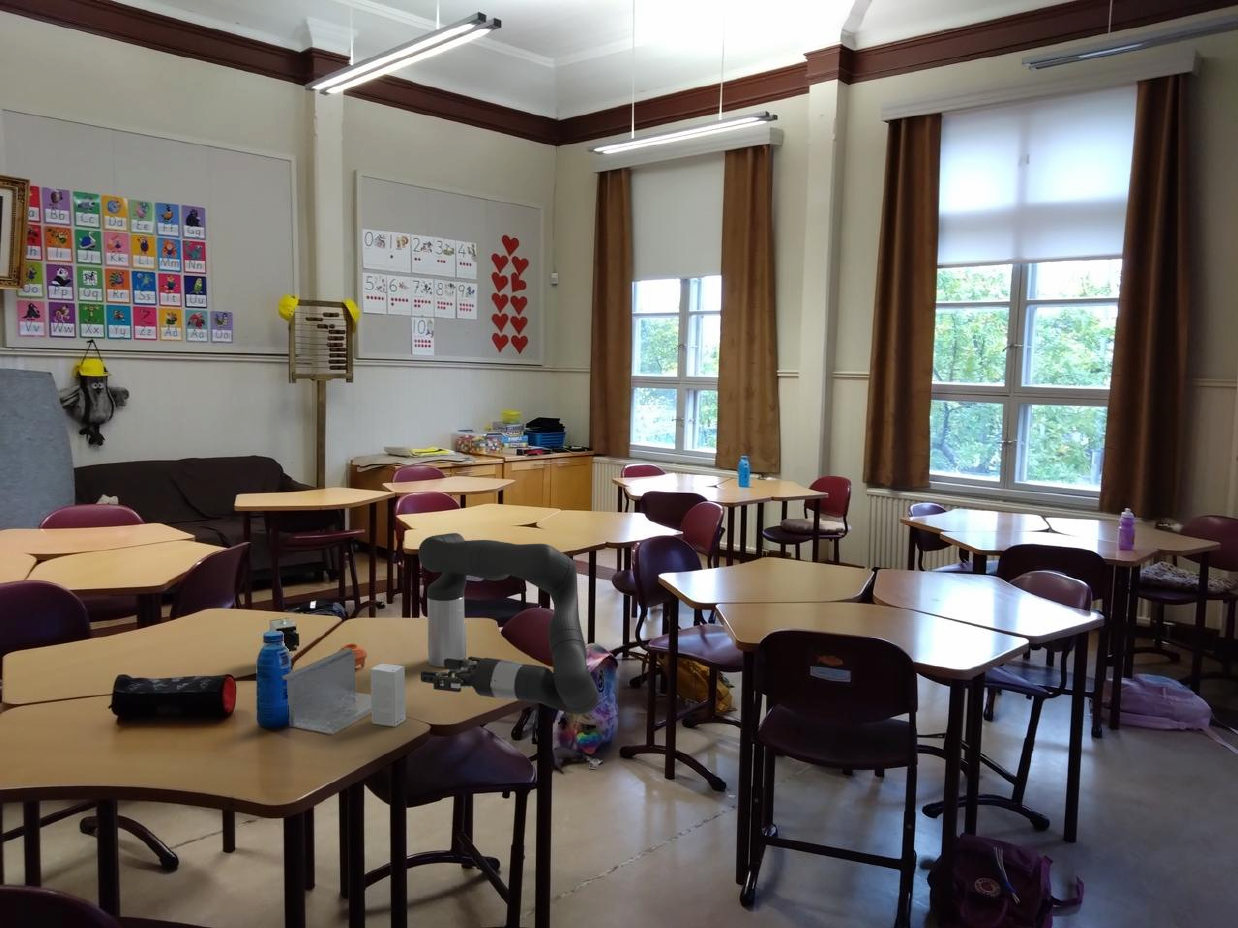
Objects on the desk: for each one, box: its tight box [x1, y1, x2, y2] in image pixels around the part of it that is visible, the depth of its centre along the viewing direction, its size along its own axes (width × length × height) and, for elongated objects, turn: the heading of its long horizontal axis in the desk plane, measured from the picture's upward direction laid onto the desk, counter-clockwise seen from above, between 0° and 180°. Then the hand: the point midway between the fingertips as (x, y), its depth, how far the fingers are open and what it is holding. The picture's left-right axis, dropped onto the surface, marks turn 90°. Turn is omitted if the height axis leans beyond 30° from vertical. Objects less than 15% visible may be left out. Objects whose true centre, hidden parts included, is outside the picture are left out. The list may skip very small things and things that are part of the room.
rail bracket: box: [281, 649, 371, 735], centre depth 192 cm, size 20×13×11 cm, turn 158°
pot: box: [337, 643, 368, 669], centre depth 221 cm, size 8×8×7 cm
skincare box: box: [369, 663, 407, 728], centre depth 188 cm, size 6×4×12 cm
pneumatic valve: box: [269, 617, 300, 657], centre depth 223 cm, size 6×12×12 cm, turn 32°
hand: (433, 669), depth 182 cm, fingers open, 8 cm apart
